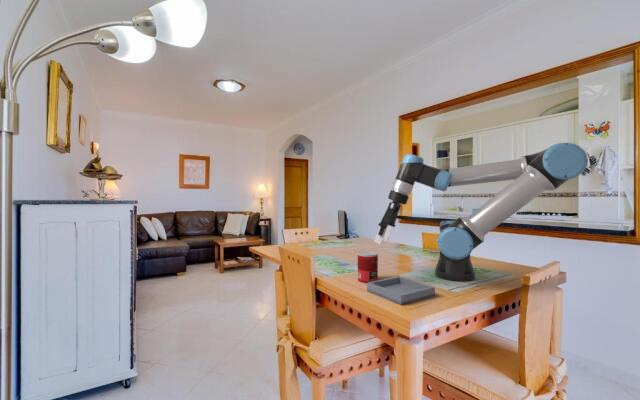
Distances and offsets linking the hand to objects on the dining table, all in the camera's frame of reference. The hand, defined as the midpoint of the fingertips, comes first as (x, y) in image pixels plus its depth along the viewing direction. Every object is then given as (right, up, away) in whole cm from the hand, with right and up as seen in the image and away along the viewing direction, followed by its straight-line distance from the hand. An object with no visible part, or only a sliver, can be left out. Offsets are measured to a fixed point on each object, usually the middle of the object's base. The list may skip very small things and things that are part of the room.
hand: (380, 241), depth 124 cm
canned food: (-6, -15, -4) cm, 17 cm away
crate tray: (+3, -15, -19) cm, 25 cm away
